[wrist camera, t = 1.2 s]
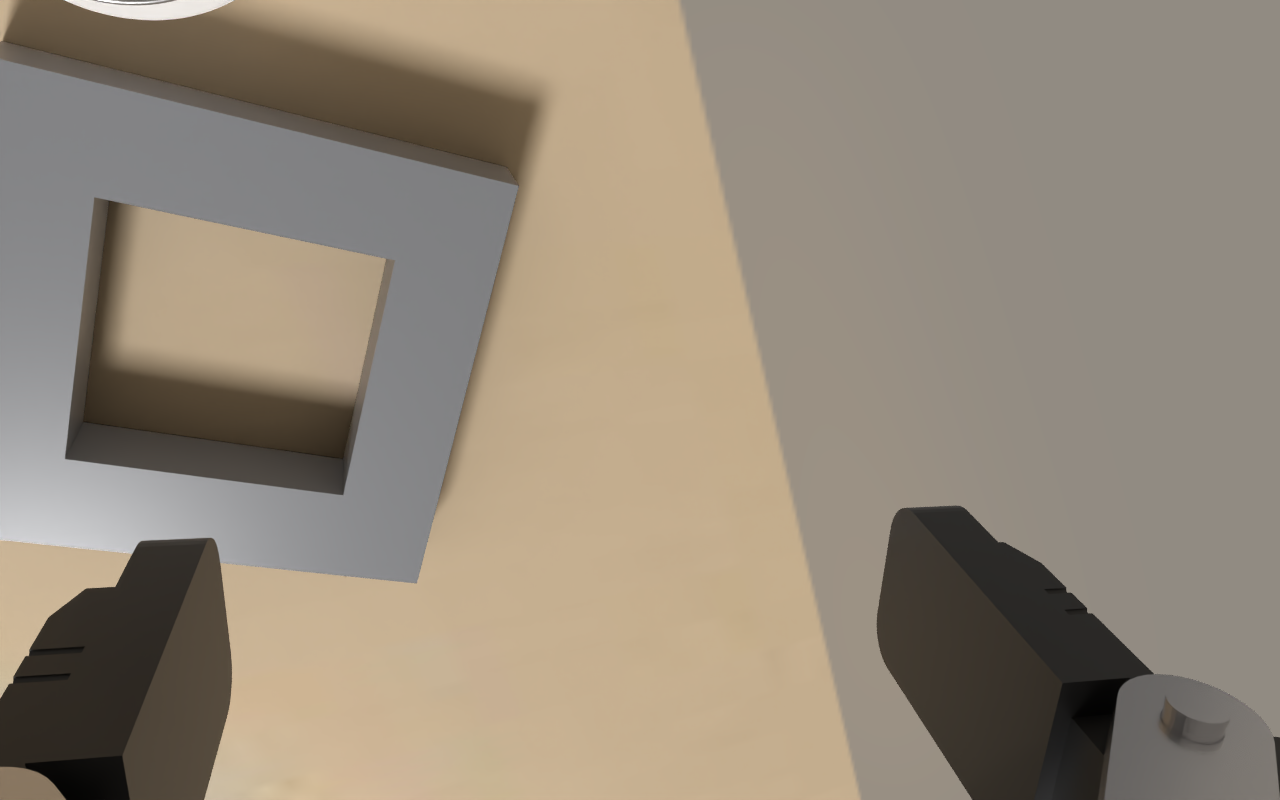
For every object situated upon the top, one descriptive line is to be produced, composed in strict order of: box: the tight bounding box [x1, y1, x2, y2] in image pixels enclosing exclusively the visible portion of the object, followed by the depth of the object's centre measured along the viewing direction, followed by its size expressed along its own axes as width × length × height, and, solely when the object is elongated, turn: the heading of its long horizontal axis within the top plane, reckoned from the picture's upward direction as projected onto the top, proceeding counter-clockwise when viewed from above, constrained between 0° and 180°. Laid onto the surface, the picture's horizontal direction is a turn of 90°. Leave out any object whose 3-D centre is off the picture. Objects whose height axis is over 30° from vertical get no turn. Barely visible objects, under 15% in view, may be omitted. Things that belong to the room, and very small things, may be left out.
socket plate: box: [0, 41, 519, 583], centre depth 32 cm, size 14×14×2 cm
